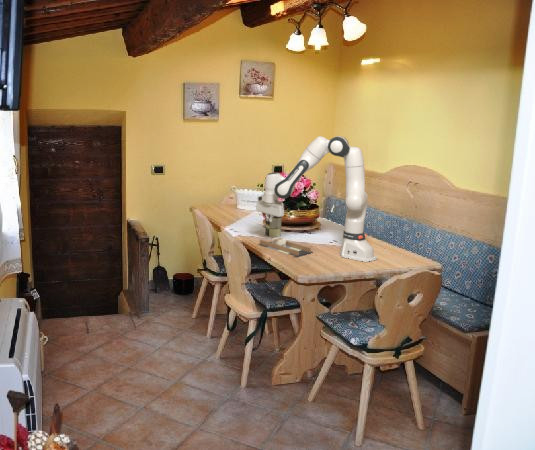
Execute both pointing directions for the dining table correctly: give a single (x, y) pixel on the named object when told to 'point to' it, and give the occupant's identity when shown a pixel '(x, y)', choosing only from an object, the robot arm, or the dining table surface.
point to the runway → (288, 248)
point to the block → (279, 241)
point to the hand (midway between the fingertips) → (269, 221)
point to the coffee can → (273, 226)
